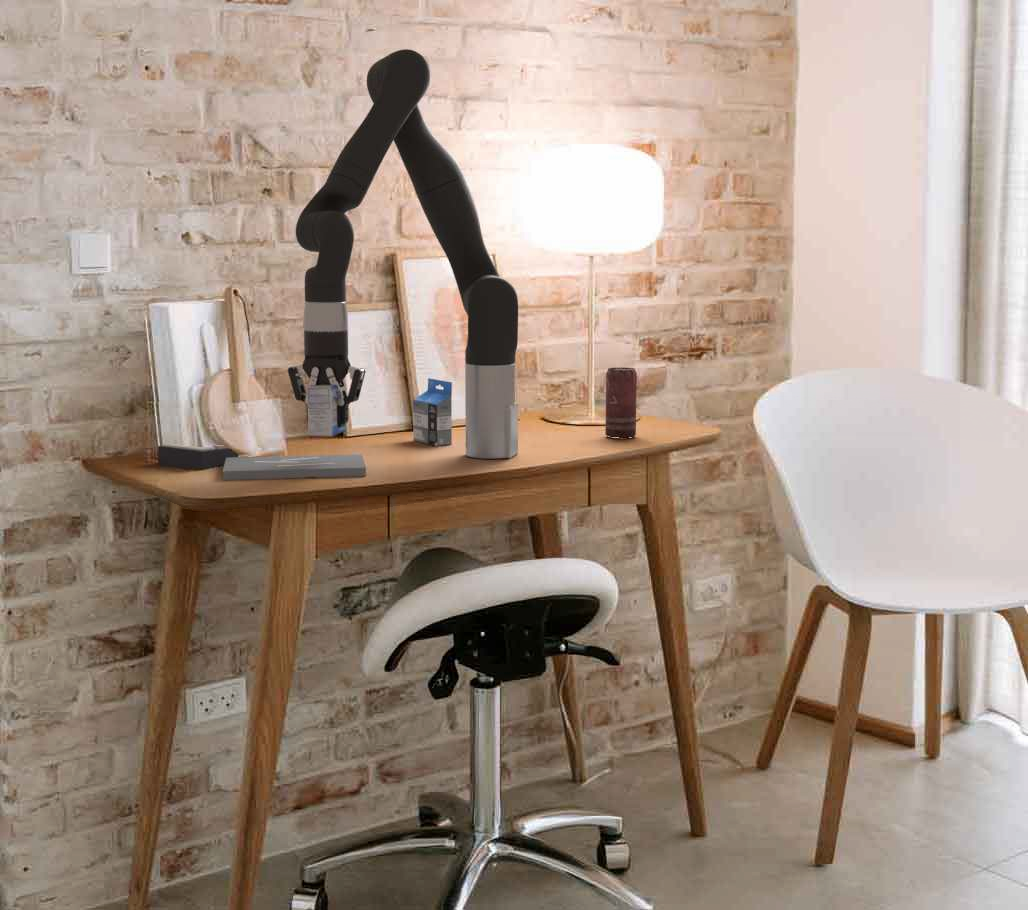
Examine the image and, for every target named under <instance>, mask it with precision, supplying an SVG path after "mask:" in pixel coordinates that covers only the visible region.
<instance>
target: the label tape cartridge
mask: <svg viewBox="0 0 1028 910" xmlns="http://www.w3.org/2000/svg"><path fill="white" fill-rule="evenodd" d="M439 386H440V387H442V388H443V389H440V388H437V387H439ZM452 389H453V382H452V381H446V380H442V379H441V380H439V379H435V378H429V377H428V379H427V390H426V391H424V392H423V393H422V394H420V395H418V396H417V397H415V398H414V399H412V420H413V421H412V425H413V427H412V429H413V431H412V433H413V438H412V439H413V441H414V442H419V443H423V444H427V445H432V446H436V447H445V446H451V445H452V444H453V442H452V440H453V439H452V437H453V436H452V427H453V426H452V423H453V422H452V421H453V417H452V410H453V409H452V404H453V402H452V398H453V397H452V395H453V391H452Z"/></svg>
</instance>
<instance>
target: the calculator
mask: <svg viewBox="0 0 1028 910" xmlns="http://www.w3.org/2000/svg"><path fill="white" fill-rule="evenodd" d="M173 443H174V442H169V443H162V444H161V445H158V446H157V465H159V466H165V467H171V468H178V469H180V468H181V469H186V470H194V471H205V470H210V468H211V469H215V468H214V467H216V468H219V466H224V464H225V460H226V458H231V457H238V454H237V453H236V452H234V451H232V449H229V448H226V447H225V446H224V445H213V447H195V446H183V445H178V444H173Z"/></svg>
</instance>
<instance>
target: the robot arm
mask: <svg viewBox="0 0 1028 910" xmlns="http://www.w3.org/2000/svg"><path fill="white" fill-rule="evenodd" d="M431 78H432V74H431V69H430V65H429V63H428V61H427V60H426V59H425V57H424V56H423V55H422V54H421V53H419V52H417V51H416V50H413V49H408V48H407V49H399V50H395V51H393V52H391V53H389V54H388V55H386V56H384V57H383V58H380V59H379V60H377V61H376V62H375V63H373V64H372V65H371V67H370V68H369V69H368V71H367V75H366V87H367V91H368V95H369V97H370V99H371V101H372V106H371V108H370V109H369V111H368V113H367V114H366V116H365V118H364V120H362V122H361V123H360V125H359V126H358V127H357V129H356V130H355V132H354V133H353V134H352V135H351V137H350V138H349V139H348V141H347V142H346V144H345V145H344V147H343V148H342V150H341V152H340V153H339V155H338V157H337V159H336V161H335V163H334V165H333V167H332V168H331V170H330V172H329V175H328V177H327V179H326V181H325V183H324V184H323V185H322V187H321V188H320V189H319V190H318V191H317V192H316V193H315V194H314V196H313V197H312V198H311V199H310V201H308V203H307V204H306V206H305V207H304V208H303V209H302V211H301V212H300V215H299V216H298V219H297V221H296V224H295V225H296V226H295V238H296V241H297V243H298V244H299V246H300V247H301V248H303V249H304V250H305V251H308V252H314V253H318V256H317V261H316V264H315V266H311V267H310V268H308V269H307V270H306V271H305V273H304V309H303V311H304V312H303V321H302V322H303V323H302V325H303V338H304V339H303V342H304V343H303V345H304V346H303V347H304V350H303V353H304V359H303V362H302V364H301V365H295V366H294V365H293V366H290V367H289V368H287V373H288V377H289V380H290V383H291V387H292V390H293V394H294V398H295V400H297V402H298V401H301V402H303V403H304V404H305V406H306V421H307V423H308V405H307V389H306V387H305V382H304V380H303V378H304V375H305V374H306V376H307V377H308V378H309V381H308V385H307V388H308V387H310V386H315V385H332V386H335V392H336V396H337V402H338V405H339V406H337V426H338V427H344V426H345V424H346V425H347V424H348V422H349V405H350V404H351V403H354V402H356V401H358V400H359V398H360V396H361V395H360V394H361V391H362V387H363V385H364V380H365V375H366V368H363V367H361V368H359V367H355V366H352V365H351V362H350V361H349V329H348V328H349V323H348V322H349V321H348V317H349V315H348V310H347V309H348V308H347V302H346V301H347V288H346V287H347V285H346V284H347V283H346V282H347V281H346V278H347V273H348V270H349V266H350V262H351V257H352V252H353V248H354V243H355V242H354V240H355V234H354V233H355V231H354V228H353V223H352V221H351V220H350V218H349V216H348V215H347V214H346V213H347V212H348V211H352V210H354V209H356V208H358V207H360V205H361V204H362V203H363V200H364V199H365V198H366V197H365V196H366V195H367V193H368V190H369V188H370V187H371V184H372V183H373V181H374V178H375V176H376V174H377V172H378V170H379V168H380V166H381V163H382V162H383V160H384V158H385V156H386V154H387V152H388V151H389V148H390V147H391V145H392V144H393V142H394V144H395V147H396V149H397V150H398V154H399V157H400V159H401V160H402V163H403V166H404V168H405V170H406V171H407V174H408V176H409V179H410V181H411V184H412V186H413V189H414V191H415V195H416V197H417V199H418V201H419V204H420V206H421V208H422V210H423V213H424V215H425V216H426V219H427V222H428V223H429V225H430V228H431V230H432V231H433V233H434V236H435V237H436V239H437V241H438V243H439V245H440V247H441V248H442V250H443V252H444V254H445V256H446V258H447V260H448V262H449V264H450V267H451V270H452V273H453V277H454V280H455V282H456V286H457V289H458V292H459V295H460V299H461V303H462V306H463V309H464V311H465V313H466V315H467V341H466V347H465V351H464V352H465V355H464V357H465V358H464V361H465V362H464V363H465V364H464V365H465V367H464V368H465V370H464V371H465V374H464V375H465V379H464V380H465V382H464V383H465V389H464V390H465V394H464V395H465V396H464V397H465V400H464V401H465V403H464V404H465V455H466V456H467V457H469V458H475V459H511V458H513V457H514V456H515V455H517V454H519V404H518V402H516V354H517V353H516V352H517V348H518V340H519V333H518V331H519V300H518V294H517V291H516V289H515V287H514V285H512V284H511V283H510V282H509V281H508V280H507V279H505V278H504V277H502V276H501V275H500V273H499V271H498V270H497V268H496V266H495V264H494V262H493V260H492V259H491V256H490V254H489V251H488V250H487V247H486V245H485V241H484V239H483V234H482V229H481V225H480V223H481V222H480V218H479V215H478V210H477V208H476V207H477V206H476V203H475V200H474V197H473V195H472V191H471V188H470V186H469V185H468V181H467V179H466V177H465V175H464V172H463V171H462V168H461V167H460V165H459V163H458V162H457V161H456V159H455V158H454V157H453V156H452V154H451V153H450V152H449V151H448V150H447V149H446V148H445V147H444V146H443V144H442V143H441V142H440V141H439V140H438V139H437V138H436V137H435V136H434V135H433V133H432V131H431V130H430V128H429V126H428V125H427V123H426V121H425V119H424V115H423V114H422V111H421V109H420V106H419V102H420V101H421V100H422V99H423V97H425V94H426V93H427V91H428V90H429V87H430V85H431ZM304 372H305V373H304ZM348 374H349V378H350V379H351V382H350V386H349V391H348V392H347V384H346V385H345V383H346V382H345V378H346V377H347V375H348ZM340 384H341V386H339V385H340Z"/></svg>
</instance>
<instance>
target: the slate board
mask: <svg viewBox="0 0 1028 910" xmlns="http://www.w3.org/2000/svg"><path fill="white" fill-rule="evenodd" d="M366 476H367V466H366V463H365V460H364V458H363V454H361V453H355V454H353V453H352V454H349V453H348V454H326V455H325V454H320V455H319V454H317V455H316V454H312V455H279V456H271V455H270V456H260V457H231V458H226V460H225V464H224V465H223V469H222V481H241V480H243V481H244V480H245V481H247V480H276V479H277V480H278V479H306V478H305V477H318V478H342V477H343V478H351V477H352V478H353V477H366Z"/></svg>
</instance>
